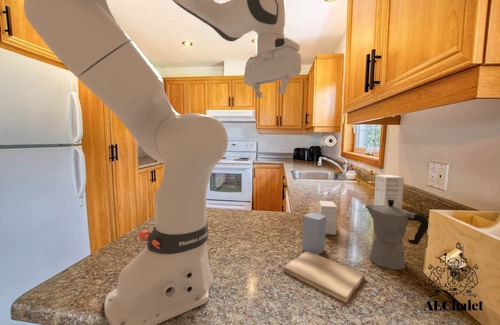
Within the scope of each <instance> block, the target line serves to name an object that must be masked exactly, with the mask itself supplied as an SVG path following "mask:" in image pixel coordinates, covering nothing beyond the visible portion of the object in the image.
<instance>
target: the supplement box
mask: <svg viewBox="0 0 500 325" xmlns="http://www.w3.org/2000/svg"><path fill="white" fill-rule="evenodd" d="M404 179H405V178H404V176H400V175H399V176H398V175H395V174H375V179H374V180H375V184H374V197H373V198H374V199H373V205H376V206H381V205H388V200H394V204H393V206H394V207H397V208H400V209H403V208H402V207H403V205H402V204H403V194H404Z"/></svg>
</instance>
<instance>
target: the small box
mask: <svg viewBox="0 0 500 325" xmlns="http://www.w3.org/2000/svg"><path fill="white" fill-rule="evenodd" d="M318 214H320V215H324V216H326V230H325V235H334V236H335V235H337V221H338V206H337V205H336V204H335V202H334V201H330V200H329V201H327V200H319V201H318Z"/></svg>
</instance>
